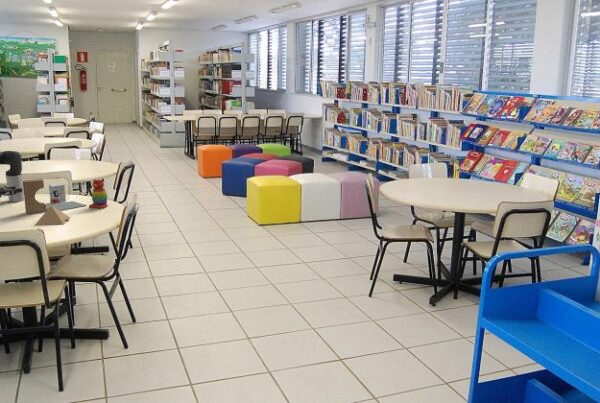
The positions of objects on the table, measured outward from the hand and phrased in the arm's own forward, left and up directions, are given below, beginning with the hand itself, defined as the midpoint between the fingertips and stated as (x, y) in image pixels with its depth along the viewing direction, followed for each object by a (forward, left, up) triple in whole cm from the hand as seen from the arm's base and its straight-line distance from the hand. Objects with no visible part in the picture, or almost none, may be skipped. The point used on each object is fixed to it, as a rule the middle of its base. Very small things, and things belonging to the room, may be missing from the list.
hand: (18, 189), depth 336 cm
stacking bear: (+17, +42, -16) cm, 48 cm away
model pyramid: (+29, +5, -17) cm, 34 cm away
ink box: (-15, +31, -16) cm, 38 cm away
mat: (0, +26, -16) cm, 31 cm away
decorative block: (0, +9, -16) cm, 18 cm away
